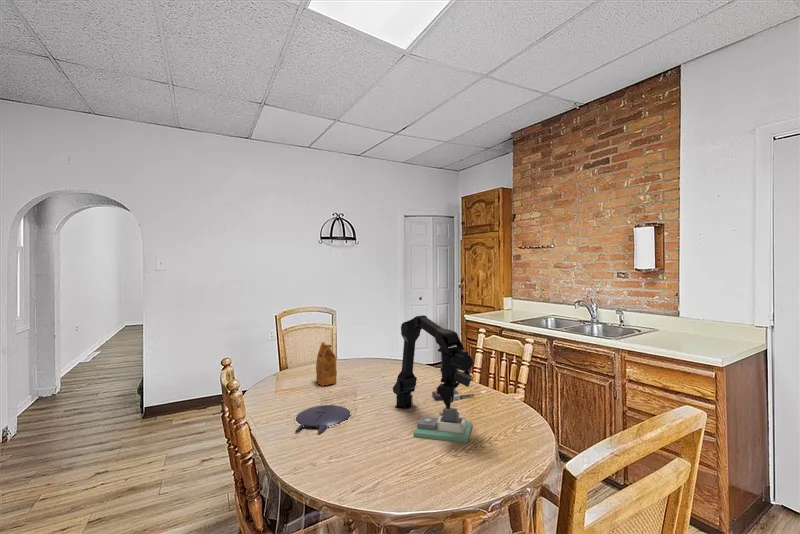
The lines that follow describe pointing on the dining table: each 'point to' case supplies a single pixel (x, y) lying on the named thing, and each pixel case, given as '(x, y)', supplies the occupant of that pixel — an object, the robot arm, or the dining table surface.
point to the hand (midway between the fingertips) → (449, 405)
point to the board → (443, 429)
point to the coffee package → (326, 366)
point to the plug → (450, 415)
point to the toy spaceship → (322, 416)
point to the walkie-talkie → (456, 395)
